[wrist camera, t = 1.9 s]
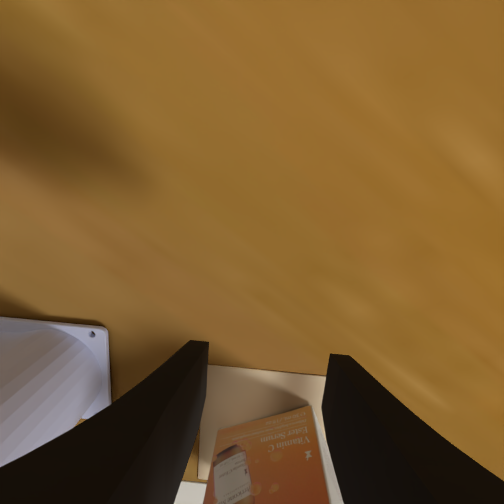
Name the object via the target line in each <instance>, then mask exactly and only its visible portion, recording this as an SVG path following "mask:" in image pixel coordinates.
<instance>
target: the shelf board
mask: <svg viewBox="0 0 504 504" xmlns="http://www.w3.org/2000/svg"><path fill="white" fill-rule="evenodd" d="M325 381H326V376H321V375H311V374H301V373H291V372H280V371H270V370H260V369H250V368H240V367H230V366H219V365H209V364H208V370H207V390H206V399H205V404H204V408H203V413H202V417H201V422H200V442H199V465H198V479H204V480H208V475H209V470H210V465H211V460H212V455H213V450H214V445H215V440H216V435H217V432H218V430H219V429H221V428H225V427H231V426H236V425H239V424H243V423H247V422H251V421H255V420H259V419H263V418H267V417H271V416H274V415H278V414H282V413H286V412H289V411H293V410H296V409H299V408H302V407H305V406H309V405H311V406H312V407H313V409H314V412H315V414H316V417H317V419H318V422H319V425H320V427H321V430H322V433H323V435H324V438H325V440H326V435H325V429H324V423H323V416H322V410H321V405H322V399H323V393H324V387H325ZM326 443H327V441H326ZM327 446H328V445H327Z"/></svg>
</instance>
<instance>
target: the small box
mask: <svg viewBox="0 0 504 504" xmlns="http://www.w3.org/2000/svg"><path fill="white" fill-rule="evenodd" d="M203 504H343V501H342V496H341V493H340V489H339V485H338V482H337V478H336V475H335V471H334V467H333V464H332V460H331V456H330V452H329V449H328V446H327V443H326V440H325V438H324V435H323V433H322V430H321V427H320V425H319V422H318V419H317V417H316V414H315V412H314V409H313V407H312V406H311V405H309V406H305V407H302V408H299V409H296V410H293V411H289V412H286V413H282V414H278V415H274V416H271V417H267V418H263V419H259V420H255V421H251V422H247V423H243V424H239V425H236V426H231V427H225V428H221V429H219V430H218V432H217V435H216V440H215V445H214V450H213V455H212V460H211V465H210V470H209V475H208V480H207V485H206V491H205V496H204V500H203Z"/></svg>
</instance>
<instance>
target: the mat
mask: <svg viewBox="0 0 504 504" xmlns="http://www.w3.org/2000/svg"><path fill="white" fill-rule="evenodd" d="M206 485H207V483H201V482H192V481H183V480H182V481H181V484H180V487H179V490H178V493H177V496H176V499H175V502H174V504H203V500H204V496H205V491H206ZM342 501H343V500H342ZM343 504H344V503H343Z"/></svg>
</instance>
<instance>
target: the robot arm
mask: <svg viewBox="0 0 504 504" xmlns="http://www.w3.org/2000/svg"><path fill="white" fill-rule="evenodd" d="M92 331H93V332H94V333H95V335H94V334H93V333H92ZM208 349H209V342H205V341H194V340H190V341H189V342H187V343H186V344H185V345H184V346H183V347H182V348H180V349H179V350H178V351H177V352H176V353H175V354H174V355H173V356H171V357H170V358H169V359H168V360H167V361H166V362H165V363H163V364H162V365H161V366H160V367H159V368H157V369H156V370H155V371H154V372H153V373H151V374H150V375H149V376H148V377H147V378H145V379H144V380H143V381H142V382H140V383H139V384H138V385H136V386H135V387H134V388H132V389H131V390H130V391H128V392H127V393H126V394H124V395H123V396H122V397H120V398H119V399H118V400H116V401H115V402H113V403H112V404H111V383H110V362H109V341H108V331H107V329H106V328H104V327H102V326H92V325H82V324H72V323H61V322H51V321H40V320H30V319H19V318H9V317H0V504H174V502H175V499H176V496H177V493H178V490H179V487H180V484H181V481H182V478H183V475H184V472H185V469H186V466H187V463H188V460H189V457H190V454H191V451H192V448H193V445H194V442H195V439H196V436H197V433H198V430H199V426H200V422H201V417H202V413H203V408H204V404H205V399H206V390H207V370H208ZM321 410H322V416H323V423H324V429H325V435H326V441H327V445H328V449H329V452H330V456H331V460H332V464H333V467H334V471H335V475H336V478H337V482H338V485H339V489H340V493H341V496H342V500H343V503H344V504H504V481H503V480H501V479H500V478H498V477H497V476H496V475H494V474H493V473H491V472H490V471H488V470H487V469H485V468H484V467H483V466H481V465H480V464H479V463H477V462H476V461H474V460H473V459H472V458H470V457H469V456H468V455H466V454H465V453H463V452H462V451H461V450H459V449H458V448H457V447H455V446H454V445H453V444H451V443H450V442H449V441H447V440H446V439H445V438H443V437H442V436H441V435H440V434H438V433H437V432H436V431H435V430H433V429H432V428H431V427H430V426H429V425H427V424H426V423H425V422H424V421H422V420H421V419H420V418H419V417H418V416H416V415H415V414H414V413H413V412H412V411H410V410H409V409H408V408H407V407H406V406H405V405H403V404H402V403H401V402H400V401H399V400H398V399H397V398H396V397H394V396H393V395H392V394H391V393H390V392H389V391H388V390H387V389H386V388H385V387H383V386H382V385H381V384H380V383H379V382H378V381H377V380H376V379H375V378H374V377H373V376H372V375H370V374H369V373H368V372H367V371H366V370H365V369H364V368H363V367H362V366H361V365H360V364H359V363H357V362H356V361H355V360H354V359H353V358H352V357H351V356H349V355H340V354H330V357H329V363H328V369H327V375H326V381H325V387H324V393H323V399H322V405H321ZM80 418H83V419H87V420H85V421H84V422H82V423H81V424H79V425H77V426H76V427H74V426H75V425H76V423H77V422H78V421H79V420H80ZM73 427H74V428H73Z"/></svg>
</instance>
